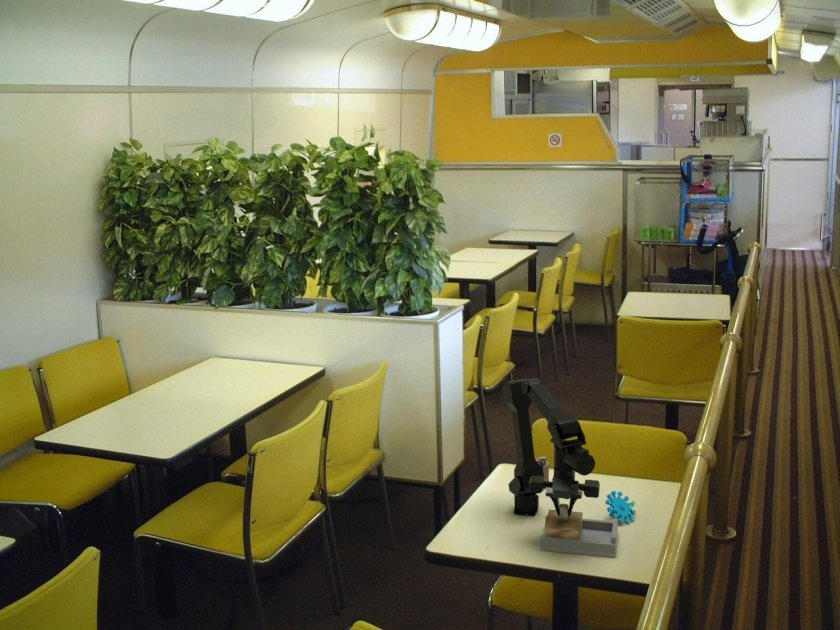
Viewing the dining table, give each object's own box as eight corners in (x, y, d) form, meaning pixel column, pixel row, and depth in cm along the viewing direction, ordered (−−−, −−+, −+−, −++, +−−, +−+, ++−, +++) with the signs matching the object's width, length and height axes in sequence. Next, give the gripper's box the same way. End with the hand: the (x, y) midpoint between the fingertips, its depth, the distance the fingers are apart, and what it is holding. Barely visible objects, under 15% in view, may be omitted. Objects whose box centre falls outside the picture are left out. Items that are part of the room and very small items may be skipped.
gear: (617, 524, 257) (602, 491, 261) (605, 532, 261) (590, 500, 265) (645, 518, 263) (630, 487, 267) (632, 527, 267) (617, 496, 272)
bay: (539, 549, 247) (539, 532, 246) (545, 526, 260) (545, 510, 259) (615, 557, 242) (615, 539, 241) (617, 533, 255) (618, 516, 254)
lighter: (543, 482, 290) (543, 452, 287) (551, 485, 287) (552, 455, 285) (527, 490, 284) (527, 460, 282) (535, 493, 282) (536, 463, 279)
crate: (544, 542, 248) (544, 512, 246) (548, 525, 258) (549, 496, 256) (579, 546, 246) (579, 515, 243) (582, 528, 255) (583, 498, 253)
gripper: (525, 471, 241) (525, 525, 245) (597, 476, 237) (596, 531, 240) (531, 455, 252) (531, 507, 255) (600, 460, 247) (599, 513, 251)
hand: (563, 515), depth 250 cm, fingers closed on crate, 2 cm apart
